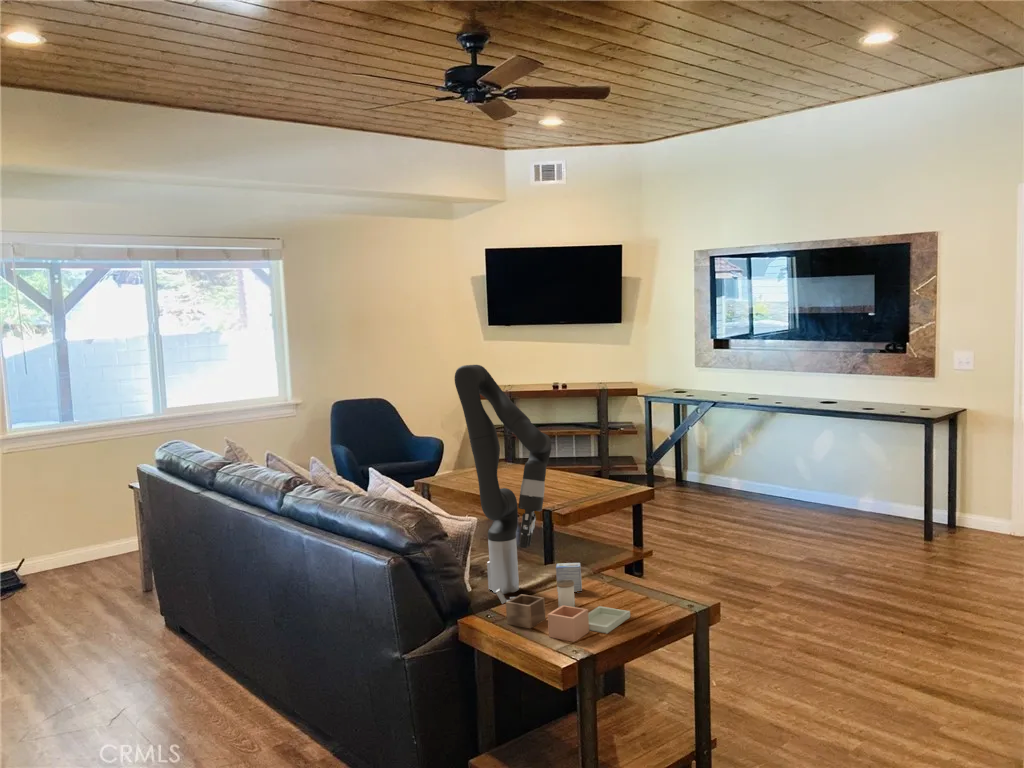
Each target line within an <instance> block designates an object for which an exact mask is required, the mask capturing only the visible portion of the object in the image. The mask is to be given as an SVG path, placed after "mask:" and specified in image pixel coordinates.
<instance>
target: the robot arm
mask: <svg viewBox="0 0 1024 768" xmlns="http://www.w3.org/2000/svg"><path fill="white" fill-rule="evenodd" d="M454 385H455V388H456V389H455V390H456V392H457V395H458V399H459V401H460V404H461V406H462V411H463V416H464V420H465V423H466V427H467V433H468V438H469V443H470V447H471V448H470V449H471V451H472V456H473V460H474V461H473V462H474V466H475V471H476V474H477V475H476V476H477V482H478V488H479V489H478V490H479V498H480V506H481V509H482V513H483V514H484V516H485V517H486V518H487V519H489V520H490V521H492V524H491V525H490V527H489V529H488V531H487V541H488V542H487V543H488V544H487V545H488V557H489V560H487V562H486V567H487V568H486V569H487V585H488V590H489V589H490V590H492V591H493V592H492V591H491V592H492V593H494V594H496V590H497V589H499V588H500V589H501V591H502V593H503V595H505V594H509V593H515V592H517V591H519V590H520V583H519V582H520V580H519V566H518V565H519V563H518V548H517V530H518V526H519V518H518V517H519V514H518V512H519V511H518V510H519V509H521V510H524V511H525V512H524V513H522V517H521V523H520V524H521V526H520V528H521V529H520V534H521V537H520V545H519V546H520V548H523V549H527V548H528V547H530V546H531V545H532V544H531V542H532V538H533V537H532V535H533V534H534V531H535V525H536V524H535V523H536V519H537V515H536V513H535V512H542V511H543V505H544V497H545V488H546V487H545V483H546V473H547V466H548V463H549V459H550V456H551V451H552V439H551V438H550V435H548V434H546V433H544V432H542V431H541V430H540V429H539V428H537V426H535V425H534V424H533V423H532V421H531V419H530V417H528V416H527V415H526V414H525V413H524V412H523V411H522V410H521V409H520V408H519V407H518V406H517V405H516V404H515V403H514V402H513V401H512V400H511V399H510V398H509V396H508V395H506V393H505V392H504V391H503V390H502V388H501V387H500V386H499V384H498V383H497V382H496V381H495V379H494V378H493V377H492V375H491V374H490V373H489V371H488V370H487V369H486V368H485V367H484V366H482V365H480V364H466V365H461V366H459V367H458V368H457V369H456V371H455V373H454ZM481 396H482V397H484V398H485V399H486V400H487V402H489V403H490V405H491V406H492V408H493V410H494V412H495V414H496V416H497V418H498V419H499V420H500V422H501V423H502V424H503V425H504V426H505V427H506V428H507V429H509V431H510V432H511V433H512V434H513V435H515V436H516V438H517V439H518V440H519V442H520V443H521V444H522V445H523V447H525V449H527V450H528V451H529V455H528V460H527V461H526V462H525V463H524V467H523V474H522V480H521V484H520V491H519V492H520V493H519V498H518V500H517V496H516V494H515V493H514V492H513V491H512V490H511V489H509V488H505V487H501V488H500V483H499V480H498V468H499V467H498V466H499V462H500V461H499V460H500V454H501V447H500V442H499V437H498V431H497V429H496V427H495V424H494V423H493V420H491V417H489V415H488V413H487V411H486V410H485V408H484V406H483V403H482V399H481ZM490 590H489V591H490Z"/></svg>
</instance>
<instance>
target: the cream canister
mask: <svg viewBox="0 0 1024 768" xmlns="http://www.w3.org/2000/svg"><path fill="white" fill-rule="evenodd" d="M557 588H558V593H557V601H558V602H557V605H558V608H559V607H560V606H562V605H565V606H571V607H576V604H575V602H576V601H575V593H574V581H573V580H559V581H557V580H556V589H557Z"/></svg>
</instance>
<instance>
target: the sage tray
mask: <svg viewBox="0 0 1024 768" xmlns="http://www.w3.org/2000/svg"><path fill="white" fill-rule="evenodd" d="M630 618H631V611H630V610H626V609H618V608H613V607H607V606H601V605H599V606H597V607H595V608H594V609H592V610H590V611H588V619H589V632H590V631H592V632H597V633H601V634H602V633H603V634H609V633H610V632H612V631H613V630H614V629H616V628H617V627H619V626H620V625H621V624H623V623H624V622H625V621H627V620H628V619H630Z"/></svg>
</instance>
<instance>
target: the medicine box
mask: <svg viewBox="0 0 1024 768" xmlns="http://www.w3.org/2000/svg"><path fill="white" fill-rule="evenodd" d="M555 573H556V582H557V581H559V580H573V581H574V592H577V591H582V592H583V583H582V566H581V562H566V563H565V562H563V563H562V562H561V563H556V565H555ZM556 589H557V590H556V591H557V592H558V588H557V587H556ZM557 592H556V593H557ZM577 593H578V592H577Z"/></svg>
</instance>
